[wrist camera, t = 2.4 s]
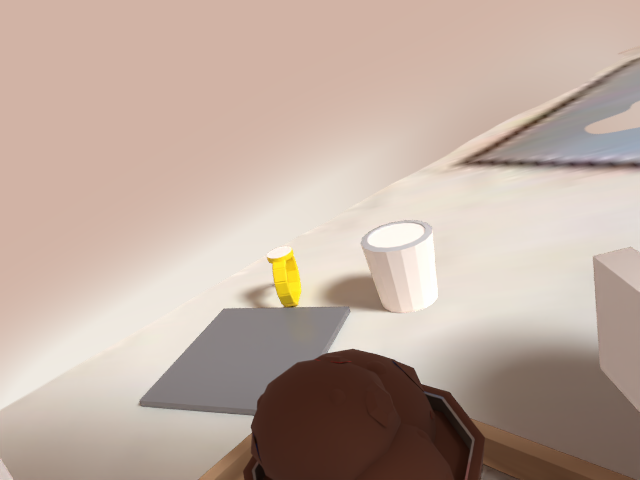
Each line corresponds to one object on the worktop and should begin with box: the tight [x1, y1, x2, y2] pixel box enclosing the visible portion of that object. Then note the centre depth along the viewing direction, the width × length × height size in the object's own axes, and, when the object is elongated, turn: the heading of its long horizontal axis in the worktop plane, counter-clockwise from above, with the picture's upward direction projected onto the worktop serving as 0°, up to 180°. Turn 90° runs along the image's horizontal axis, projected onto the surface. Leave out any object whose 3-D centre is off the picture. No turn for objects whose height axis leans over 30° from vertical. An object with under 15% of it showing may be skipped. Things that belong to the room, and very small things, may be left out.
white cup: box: [361, 220, 438, 313], centre depth 54 cm, size 7×7×7 cm
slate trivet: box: [140, 307, 350, 415], centre depth 52 cm, size 15×15×1 cm
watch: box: [267, 246, 301, 307], centre depth 60 cm, size 6×3×6 cm, turn 175°
